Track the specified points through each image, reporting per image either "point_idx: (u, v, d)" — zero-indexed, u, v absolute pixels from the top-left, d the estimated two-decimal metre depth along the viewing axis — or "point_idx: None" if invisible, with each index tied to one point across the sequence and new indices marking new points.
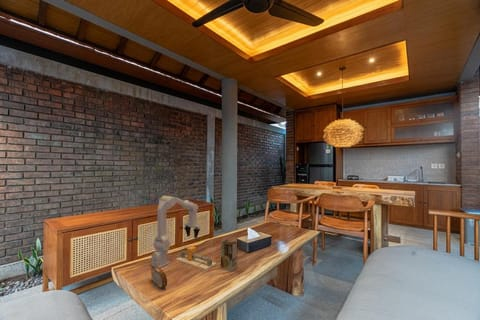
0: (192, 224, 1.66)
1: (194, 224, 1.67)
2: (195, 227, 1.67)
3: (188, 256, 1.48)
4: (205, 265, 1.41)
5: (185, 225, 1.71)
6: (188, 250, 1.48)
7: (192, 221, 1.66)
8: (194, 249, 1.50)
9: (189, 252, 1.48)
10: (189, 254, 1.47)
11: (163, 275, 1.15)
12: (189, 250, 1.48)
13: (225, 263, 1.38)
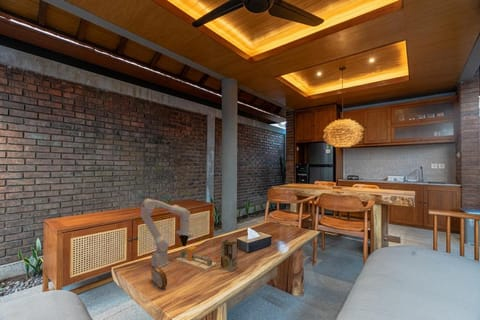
0: (184, 232, 1.51)
1: (186, 232, 1.52)
2: (187, 235, 1.52)
3: (188, 256, 1.48)
4: (205, 265, 1.41)
5: (177, 233, 1.56)
6: (188, 250, 1.48)
7: (184, 228, 1.51)
8: (194, 249, 1.50)
9: (189, 252, 1.48)
10: (189, 254, 1.47)
11: (163, 275, 1.15)
12: (189, 250, 1.48)
13: (225, 263, 1.38)
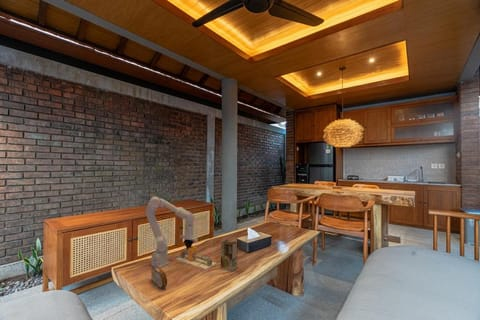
0: (189, 236, 1.49)
1: (191, 236, 1.50)
2: None
3: (189, 256, 1.47)
4: (205, 265, 1.41)
5: (181, 237, 1.54)
6: (189, 250, 1.48)
7: (189, 233, 1.49)
8: (195, 249, 1.49)
9: (190, 252, 1.47)
10: (190, 254, 1.47)
11: (163, 275, 1.15)
12: (190, 250, 1.47)
13: (225, 263, 1.38)
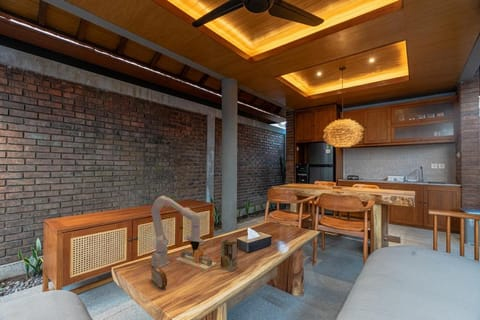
0: (195, 238, 1.46)
1: (197, 238, 1.47)
2: None
3: (195, 258, 1.44)
4: (205, 265, 1.41)
5: (187, 239, 1.51)
6: (195, 252, 1.45)
7: (195, 234, 1.46)
8: (201, 251, 1.46)
9: (196, 254, 1.44)
10: (196, 256, 1.44)
11: (163, 275, 1.15)
12: (196, 252, 1.44)
13: (225, 263, 1.38)
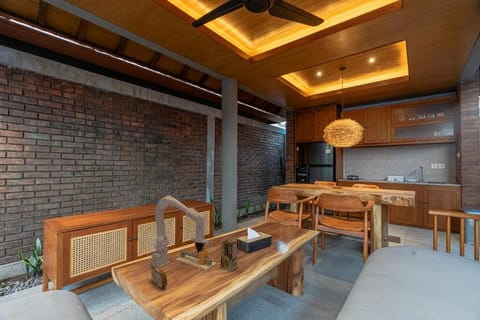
0: (200, 239, 1.44)
1: (202, 239, 1.44)
2: None
3: (200, 260, 1.42)
4: (205, 265, 1.41)
5: (191, 240, 1.49)
6: (200, 254, 1.42)
7: (200, 236, 1.44)
8: (206, 252, 1.44)
9: (201, 256, 1.42)
10: (201, 258, 1.42)
11: (163, 275, 1.15)
12: (201, 254, 1.42)
13: (225, 263, 1.38)
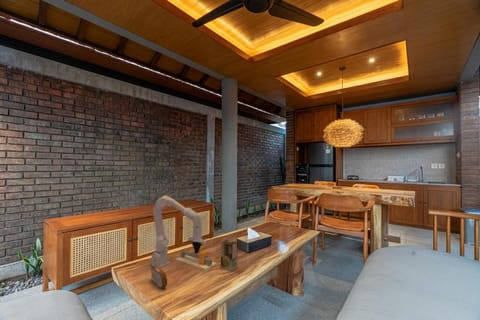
0: (197, 238, 1.45)
1: (199, 238, 1.46)
2: (200, 242, 1.45)
3: (200, 260, 1.42)
4: (205, 265, 1.41)
5: (189, 239, 1.50)
6: (200, 254, 1.42)
7: (197, 235, 1.45)
8: (206, 253, 1.44)
9: (201, 256, 1.42)
10: (201, 258, 1.42)
11: (163, 275, 1.15)
12: (201, 254, 1.42)
13: (225, 263, 1.38)
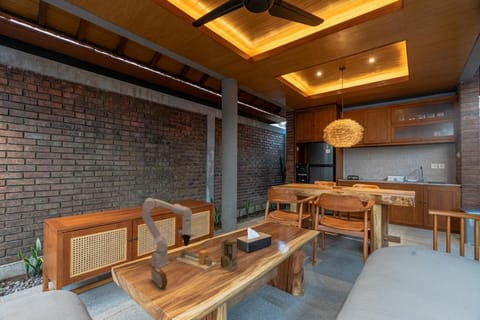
0: (186, 231, 1.49)
1: (188, 231, 1.50)
2: None
3: (200, 260, 1.42)
4: (205, 265, 1.41)
5: (179, 232, 1.54)
6: (200, 254, 1.42)
7: (186, 228, 1.49)
8: (206, 253, 1.44)
9: (201, 256, 1.42)
10: (201, 258, 1.42)
11: (163, 275, 1.15)
12: (201, 254, 1.42)
13: (225, 263, 1.38)
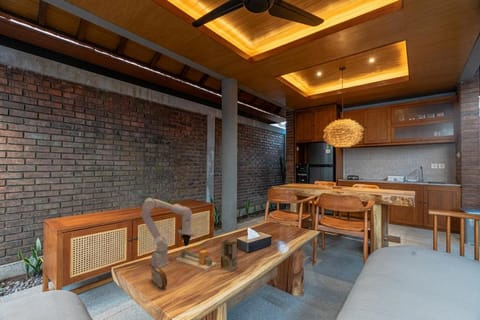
0: (186, 231, 1.49)
1: (188, 231, 1.50)
2: None
3: (200, 260, 1.42)
4: (205, 265, 1.41)
5: (178, 232, 1.54)
6: (200, 254, 1.42)
7: (186, 228, 1.49)
8: (206, 253, 1.44)
9: (201, 256, 1.42)
10: (201, 258, 1.42)
11: (163, 275, 1.15)
12: (201, 254, 1.42)
13: (225, 263, 1.38)
